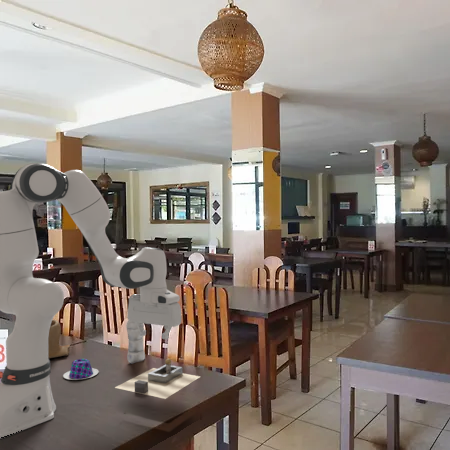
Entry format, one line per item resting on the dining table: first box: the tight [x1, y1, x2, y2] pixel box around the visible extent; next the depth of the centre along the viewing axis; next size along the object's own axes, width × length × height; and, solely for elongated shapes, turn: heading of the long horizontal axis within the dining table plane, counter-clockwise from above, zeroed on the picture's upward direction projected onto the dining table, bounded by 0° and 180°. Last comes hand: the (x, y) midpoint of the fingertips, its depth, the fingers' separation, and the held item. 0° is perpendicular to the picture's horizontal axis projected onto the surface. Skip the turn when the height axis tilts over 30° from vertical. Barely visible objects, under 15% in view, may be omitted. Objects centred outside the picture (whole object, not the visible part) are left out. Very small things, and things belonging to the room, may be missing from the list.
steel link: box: [148, 364, 184, 384], centre depth 149 cm, size 10×7×2 cm
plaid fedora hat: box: [62, 358, 100, 381], centre depth 157 cm, size 12×12×5 cm
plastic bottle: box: [125, 319, 146, 365], centre depth 168 cm, size 6×7×20 cm
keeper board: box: [114, 358, 201, 400], centre depth 145 cm, size 20×20×8 cm
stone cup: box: [48, 319, 71, 360], centre depth 178 cm, size 15×12×15 cm
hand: (153, 337), depth 148 cm, fingers open, 8 cm apart
